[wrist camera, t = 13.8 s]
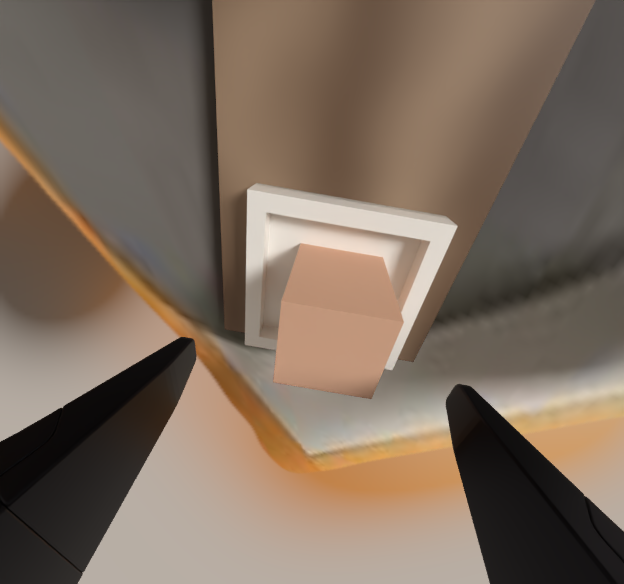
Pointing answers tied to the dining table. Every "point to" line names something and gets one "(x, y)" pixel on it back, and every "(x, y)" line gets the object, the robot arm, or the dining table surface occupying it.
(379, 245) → the dish
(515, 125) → the board
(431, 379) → the dining table surface
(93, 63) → the dining table surface
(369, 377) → the block
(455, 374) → the dining table surface
